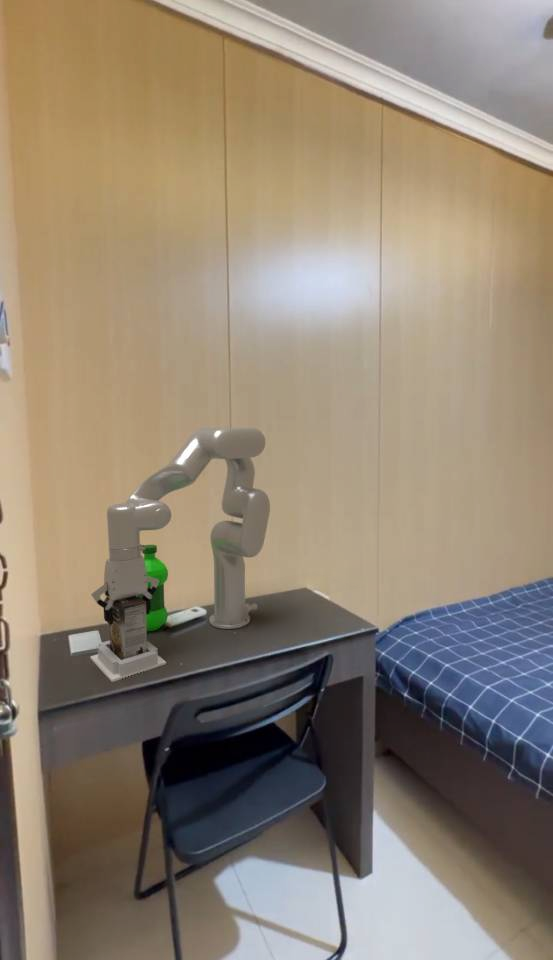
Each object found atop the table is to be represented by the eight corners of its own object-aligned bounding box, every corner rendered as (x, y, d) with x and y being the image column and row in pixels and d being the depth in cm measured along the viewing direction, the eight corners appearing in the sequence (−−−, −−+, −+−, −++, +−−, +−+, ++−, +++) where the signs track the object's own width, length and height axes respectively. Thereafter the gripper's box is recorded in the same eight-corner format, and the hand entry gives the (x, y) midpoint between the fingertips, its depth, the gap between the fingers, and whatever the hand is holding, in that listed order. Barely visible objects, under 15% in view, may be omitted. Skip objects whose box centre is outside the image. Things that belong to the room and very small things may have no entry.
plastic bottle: (128, 626, 147) (125, 545, 144) (160, 617, 153) (158, 540, 151) (141, 637, 139) (139, 552, 136) (175, 628, 146) (173, 546, 143)
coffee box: (109, 656, 126) (107, 596, 125) (132, 649, 131) (130, 591, 129) (124, 669, 120) (122, 606, 118) (148, 661, 124) (146, 600, 122)
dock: (141, 643, 135) (140, 631, 135) (166, 664, 124) (165, 650, 123) (90, 658, 126) (89, 645, 126) (111, 682, 115) (111, 667, 114)
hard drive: (103, 647, 131) (98, 629, 142) (70, 653, 127) (68, 634, 138) (103, 652, 131) (98, 635, 142) (71, 659, 127) (68, 640, 138)
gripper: (150, 544, 130) (153, 605, 132) (84, 556, 119) (89, 622, 122) (163, 549, 124) (165, 613, 127) (95, 562, 114) (99, 632, 116)
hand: (128, 617), depth 124 cm, fingers open, 9 cm apart
